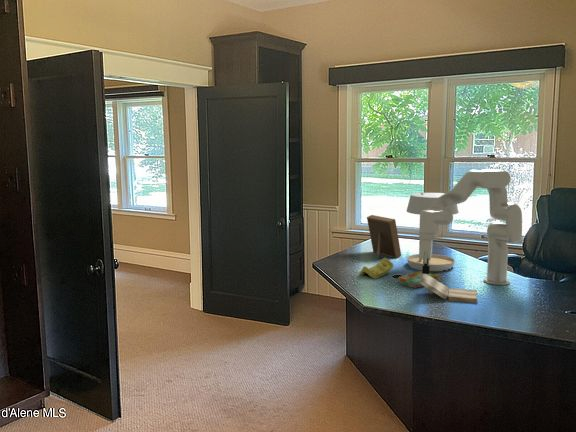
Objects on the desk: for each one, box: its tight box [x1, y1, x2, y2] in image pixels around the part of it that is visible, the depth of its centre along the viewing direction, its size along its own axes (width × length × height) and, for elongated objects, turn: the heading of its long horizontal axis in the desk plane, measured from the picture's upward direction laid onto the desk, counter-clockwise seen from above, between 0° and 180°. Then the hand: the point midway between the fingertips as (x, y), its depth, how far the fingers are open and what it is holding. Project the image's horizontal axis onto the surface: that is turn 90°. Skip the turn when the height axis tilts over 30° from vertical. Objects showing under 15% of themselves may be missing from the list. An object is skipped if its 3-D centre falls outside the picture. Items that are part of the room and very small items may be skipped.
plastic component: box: [359, 257, 394, 279], centre depth 291 cm, size 20×7×10 cm
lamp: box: [406, 192, 459, 272], centre depth 304 cm, size 29×29×43 cm
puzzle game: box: [397, 270, 441, 289], centre depth 273 cm, size 12×5×20 cm
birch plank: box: [419, 274, 450, 300], centre depth 252 cm, size 14×14×2 cm
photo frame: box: [366, 214, 402, 259], centre depth 332 cm, size 15×22×25 cm
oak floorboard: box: [447, 287, 478, 304], centre depth 248 cm, size 14×13×2 cm
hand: (425, 273), depth 252 cm, fingers closed
